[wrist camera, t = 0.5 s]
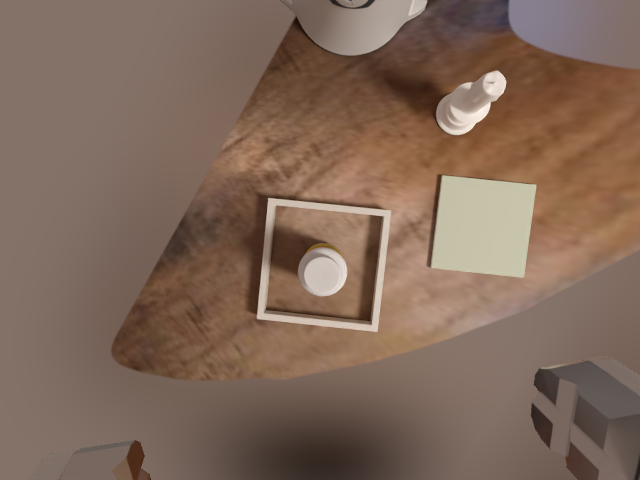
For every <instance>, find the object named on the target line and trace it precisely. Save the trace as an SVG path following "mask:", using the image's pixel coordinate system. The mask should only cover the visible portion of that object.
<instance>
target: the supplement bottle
mask: <svg viewBox="0 0 640 480" xmlns="http://www.w3.org/2000/svg"><path fill="white" fill-rule="evenodd" d="M298 277H299V280H300V282H301V284H302V286H303V287H304V288H305V289H306V290H307V291H308V292H310V293H311V294H314V295H317V296H329V295H332V294H334V293H336V292H337V291H338V290H339V289H340V288H341V287H342V286H343V285H344V283H345V280H346V277H347V267H346V263H345V260H344V257H343V255H342V253H341V252H340V250H339V249H338V248H336V247H335V246H333V245H331V244H328V243H319V244H316V245H313V246H312V247H310V248H309V249H308V250H307V251H306V253H305V254H304V256H303V257H302V259H301V261H300V263H299V267H298Z"/></svg>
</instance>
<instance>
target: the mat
mask: <svg viewBox="0 0 640 480" xmlns="http://www.w3.org/2000/svg"><path fill="white" fill-rule="evenodd" d="M535 191H536V185H533V184H523V183H513V182H503V181H493V180H483V179H474V178H464V177H454V176H444V175H442V176H441V183H440V191H439V199H438V207H437V216H436V224H435V232H434V240H433V249H432V257H431V265H430V268H437V269H447V270H456V271H466V272H475V273H485V274H494V275H504V276H513V277H523V278H524V272H525V265H526V258H527V250H528V243H529V235H530V228H531V221H532V213H533V206H534V199H535Z"/></svg>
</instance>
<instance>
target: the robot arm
mask: <svg viewBox="0 0 640 480" xmlns="http://www.w3.org/2000/svg"><path fill="white" fill-rule="evenodd" d="M281 1H282V2H283V3H284V4H285V5H286V6H287V7H289V8H290V9H291V10H292V11H293V12H294V13H295V15H296V16H297V18H298V20H299V22H300V24H301V26H302V28H303V29H304V31H305V32H306V34H307V35H308V36H309V37H310V38H311V39H312V40H313V41H314V42H315V43H316V44H318V45H319V46H321V47H322V48H324V49H326V50H328V51H330V52H333V53H336V54H341V55H360V54H365V53H368V52H371V51H374V50H376V49H378V48H379V47H381V46H383V45H384V44H385V43H387V42H388V41H389V40H390V39H391V38H392V37H393V36H394V35H395V34H396V32H397V31H398V30H399V29H400V27H401V26H402V25H403V24H404V23H405V22H407V21H409V20H410V19H412V18H414V17H416V16H418V15H419V14H421V13H422V12H423V11H424V9H425V7H426V3H427V0H281ZM534 386H535V387H536V388H537V390H538V391H539V393H538V394H537V396H536V397H535V398H534V400H533V401H532V406H531V417H532V421H533V424H534V427H535V430H536V431H537V433H538V435H539V436H540V438H541V440H542V441H543V442H544V443H545V444H546V445H547V446H548V448H549V449H551V450H553V451H554V452H556V453H559V454H561V455H562V456H564V457H565V459H566V466H567V468H568V470H569V471H570V472H571V473H572V474H573V475H574V476H575V477H576V479H577V480H640V376H639V375H638V374H636V373H635V372H633V371H632V370H630V369H629V368H627V367H626V366H624V365H623V364H621V363H619V362H618V361H616V360H615V359H613V358H610V357H606V356H600V357H595V358H590V359H585V360H582V361H577V362H571V363H566V364H561V365H555V366H550V367H544V368H539V370H538V371H537V372H536V374H535V379H534ZM144 457H145V455H144V452H143V449H142V445H141V443H140V442H139V441H137V440H133V441H126V442H120V443H114V444H107V445H101V446H93V447H87V448H81V449H79V450H71V451H65V452H59V453H51V454H49V455H48V456H47V457H45V458H44V459H42V461H41V462H40V464H39V465H38V467H37V469H36V470H35V472H34V473H33V475H32V476H31V478H30V479H29V480H151V477H150V474H148V473H147V472H146V471H144V470H143V469H141V467H142V464H143V460H144Z"/></svg>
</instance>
